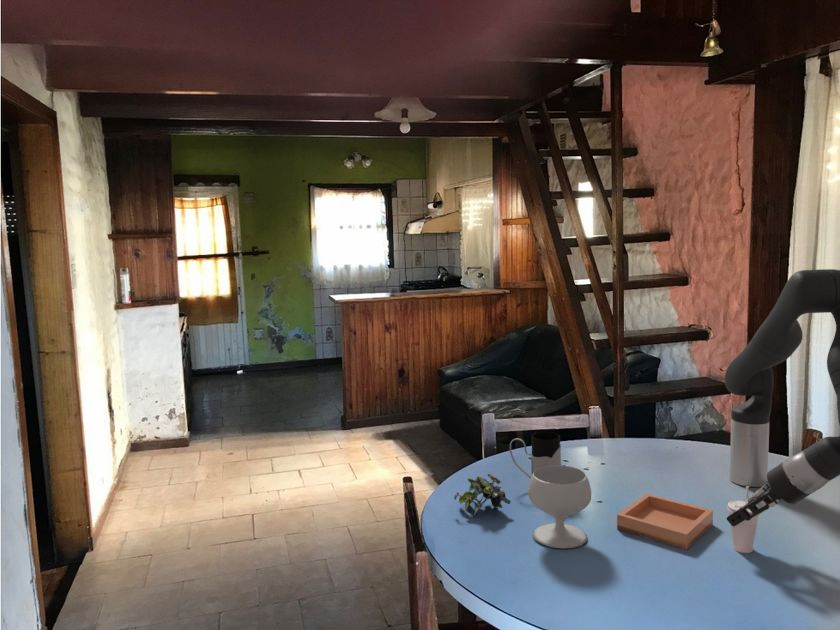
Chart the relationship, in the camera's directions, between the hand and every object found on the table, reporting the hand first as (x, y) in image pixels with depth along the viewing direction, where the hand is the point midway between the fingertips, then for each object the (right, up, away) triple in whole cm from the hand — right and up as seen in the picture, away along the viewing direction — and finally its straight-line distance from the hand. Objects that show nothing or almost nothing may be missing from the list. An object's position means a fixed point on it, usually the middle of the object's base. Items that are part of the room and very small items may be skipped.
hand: (735, 516), depth 140 cm
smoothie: (+1, -7, 0) cm, 7 cm away
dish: (-11, -6, +11) cm, 17 cm away
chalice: (-36, -7, +8) cm, 38 cm away
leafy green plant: (-53, -6, +23) cm, 58 cm away
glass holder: (-37, -4, +37) cm, 52 cm away
